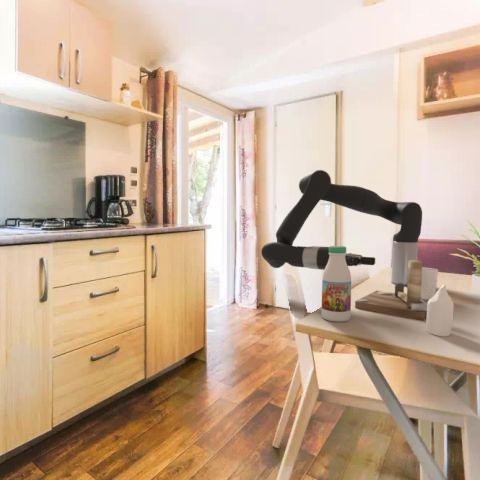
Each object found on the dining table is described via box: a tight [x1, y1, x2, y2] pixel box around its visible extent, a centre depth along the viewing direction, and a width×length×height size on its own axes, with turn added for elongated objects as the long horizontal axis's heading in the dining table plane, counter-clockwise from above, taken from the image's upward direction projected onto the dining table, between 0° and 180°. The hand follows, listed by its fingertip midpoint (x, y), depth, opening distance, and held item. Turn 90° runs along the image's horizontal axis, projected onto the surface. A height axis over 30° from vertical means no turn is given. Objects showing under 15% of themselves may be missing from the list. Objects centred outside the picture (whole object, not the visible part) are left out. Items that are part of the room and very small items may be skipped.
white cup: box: [421, 266, 439, 298], centre depth 117 cm, size 8×8×10 cm
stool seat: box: [354, 290, 431, 321], centre depth 106 cm, size 19×19×2 cm
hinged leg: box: [394, 260, 423, 307], centre depth 103 cm, size 16×4×13 cm, turn 172°
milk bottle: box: [320, 245, 352, 323], centre depth 94 cm, size 8×8×20 cm
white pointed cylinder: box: [425, 284, 454, 337], centre depth 83 cm, size 6×12×6 cm
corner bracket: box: [411, 300, 427, 311], centre depth 97 cm, size 4×4×2 cm
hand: (374, 261), depth 103 cm, fingers closed
